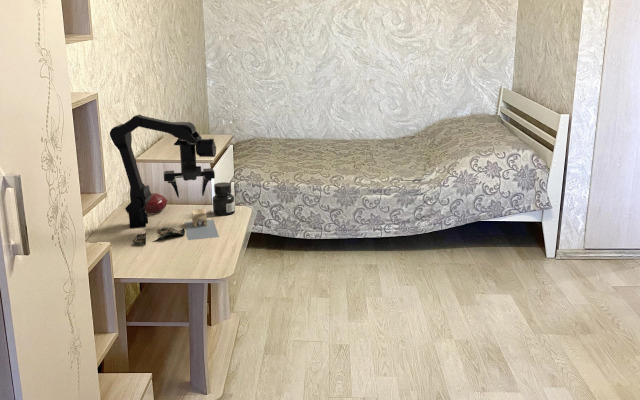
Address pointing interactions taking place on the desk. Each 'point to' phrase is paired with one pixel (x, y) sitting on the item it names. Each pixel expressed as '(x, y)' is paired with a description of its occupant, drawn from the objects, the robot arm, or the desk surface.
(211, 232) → the pin plate
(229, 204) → the ink bottle
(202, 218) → the block
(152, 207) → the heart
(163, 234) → the decorative rock
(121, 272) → the desk surface
